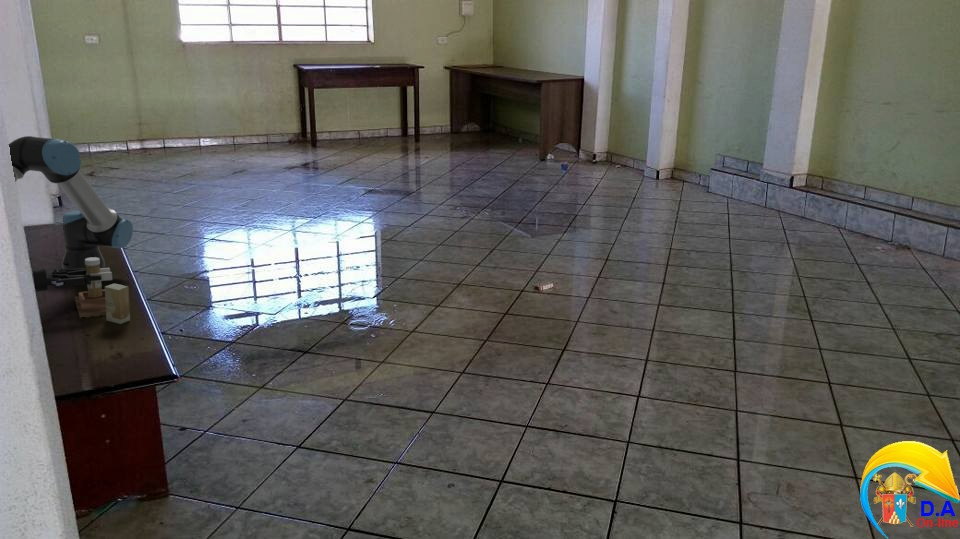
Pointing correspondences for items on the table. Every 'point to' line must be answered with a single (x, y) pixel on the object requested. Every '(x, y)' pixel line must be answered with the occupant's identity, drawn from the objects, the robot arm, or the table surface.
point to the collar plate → (90, 305)
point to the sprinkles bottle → (91, 267)
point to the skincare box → (117, 303)
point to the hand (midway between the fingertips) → (110, 273)
